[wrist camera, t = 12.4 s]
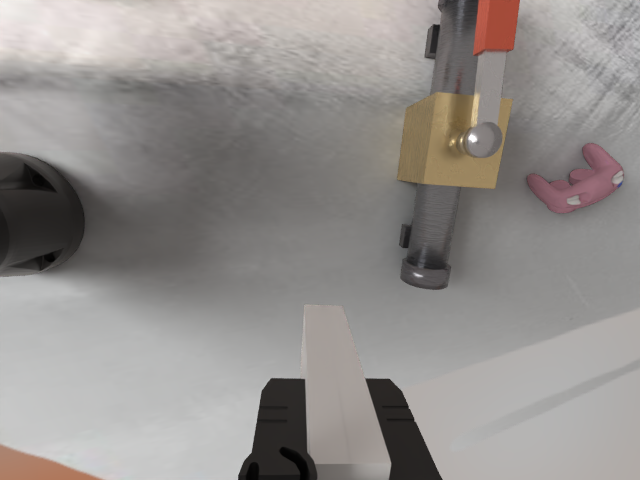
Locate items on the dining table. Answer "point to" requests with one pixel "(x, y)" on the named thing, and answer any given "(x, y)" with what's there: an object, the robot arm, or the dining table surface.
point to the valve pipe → (443, 146)
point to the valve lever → (490, 74)
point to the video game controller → (580, 182)
